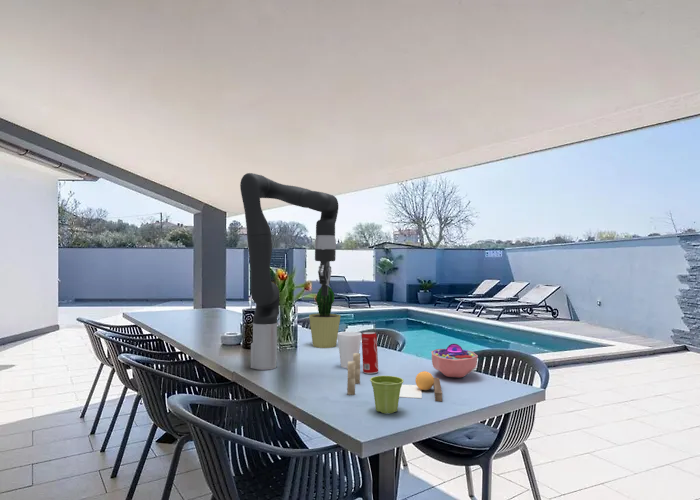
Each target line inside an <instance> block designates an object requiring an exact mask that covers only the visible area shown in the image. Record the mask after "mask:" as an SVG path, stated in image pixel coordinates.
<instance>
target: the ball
mask: <svg viewBox="0 0 700 500" xmlns="http://www.w3.org/2000/svg"><path fill="white" fill-rule="evenodd" d="M434 378H435V377H434V376H433V374H432V373H430V372H429V371H425V370H424V371H420V372H419V373H417V374H416V376H415V385H417V386H418V388H420V389H421V390H422V391H429V390H431V388H433V384H434Z"/></svg>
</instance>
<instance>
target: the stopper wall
mask: <svg viewBox="0 0 700 500" xmlns="http://www.w3.org/2000/svg"><path fill="white" fill-rule="evenodd" d="M433 378H434V384H433V386H432V388H433V392H434V393H433V394H434V401H435V402H443V391H442V385H441V381H440V377H433Z"/></svg>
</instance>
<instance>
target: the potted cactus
mask: <svg viewBox="0 0 700 500" xmlns="http://www.w3.org/2000/svg"><path fill="white" fill-rule="evenodd" d="M321 286H322V285H321V284H320V287H319V288H317V290H318V291H317V293H316V294H315V296H316V297H315V303H316V305H317V312H318V313H313V314H308V316H309V318H308V319H309V326H310V332H311V333H310V334H311V342H312V347H314V348H320V349H330V348H335V347H337V342H338V339H337V333H339V330H340V329H339V328H340V322H341V315H340V314H336V313H332V309H334V308H333V306H334V305H333V304H334V303H335V296H336V294H335V291H334V290H333V287H331V286H332V285H331V286H330V285H328V295H327V296H322V295H321Z"/></svg>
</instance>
